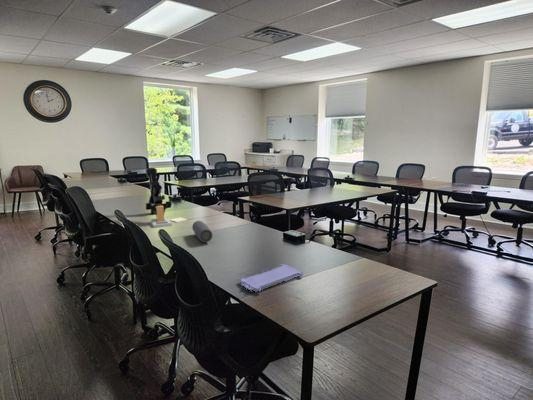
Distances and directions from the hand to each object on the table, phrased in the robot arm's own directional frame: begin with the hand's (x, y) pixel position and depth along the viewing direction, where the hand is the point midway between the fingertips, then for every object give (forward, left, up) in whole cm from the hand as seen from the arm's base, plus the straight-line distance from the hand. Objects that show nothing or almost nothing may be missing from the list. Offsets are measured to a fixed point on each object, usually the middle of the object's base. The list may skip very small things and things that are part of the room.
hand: (160, 214), depth 252 cm
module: (-1, -1, -7) cm, 7 cm away
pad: (-10, +10, -7) cm, 16 cm away
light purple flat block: (+95, +87, -7) cm, 129 cm away
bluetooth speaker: (+35, +40, -7) cm, 54 cm away
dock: (+1, +1, -7) cm, 7 cm away
